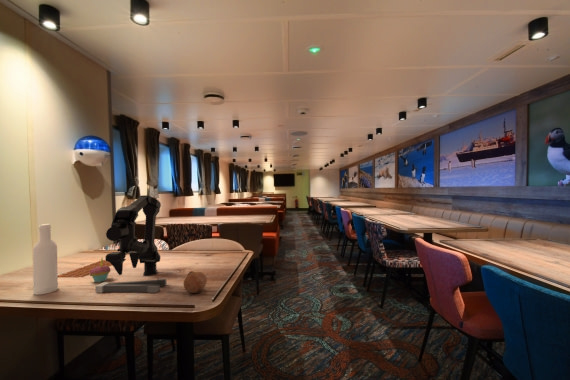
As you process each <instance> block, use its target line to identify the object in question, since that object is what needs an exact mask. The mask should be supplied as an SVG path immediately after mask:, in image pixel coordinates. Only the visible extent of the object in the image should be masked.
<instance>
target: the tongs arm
mask: <svg viewBox="0 0 570 380" xmlns="http://www.w3.org/2000/svg"><path fill="white" fill-rule="evenodd" d="M167 283H168V282H167V278H158V279H148V280H146V279H145V280H132V281H131V280H130V281H117V282H110V283H109V284H160V287H166V285H167Z"/></svg>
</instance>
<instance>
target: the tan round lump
mask: <svg viewBox="0 0 570 380" xmlns="http://www.w3.org/2000/svg"><path fill="white" fill-rule="evenodd" d="M206 276H207V275H206V274H204V273H203V272H202V271H193V270H191V271H189V273H187V274H186V276H185V278H184V280H183V283H182V284H183V288H184V290H185V291H186V292H187V293H191V294H200V293H201V292H202V291H203V290H204V288H205V287H206V285H207V282H208V281H207V277H206Z"/></svg>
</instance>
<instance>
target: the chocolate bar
mask: <svg viewBox="0 0 570 380" xmlns="http://www.w3.org/2000/svg"><path fill="white" fill-rule="evenodd" d="M98 266H101V260H98V261H95V262H93V263H90V264H87V265H84V266H83V267H82V266H81V267H78V268H76V269H74V270H70V271H68V272H64V273H61V274H59V275H58V274H57V276H58V278H78V279H79V278H84V277H87V276H90V274H89V272H90V271H91V270H92V269H93V268H95V267H98ZM102 266H108V267H112V266H113V265H112V264H111V263H110V262H108V261H105V259H103V262H102Z"/></svg>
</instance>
